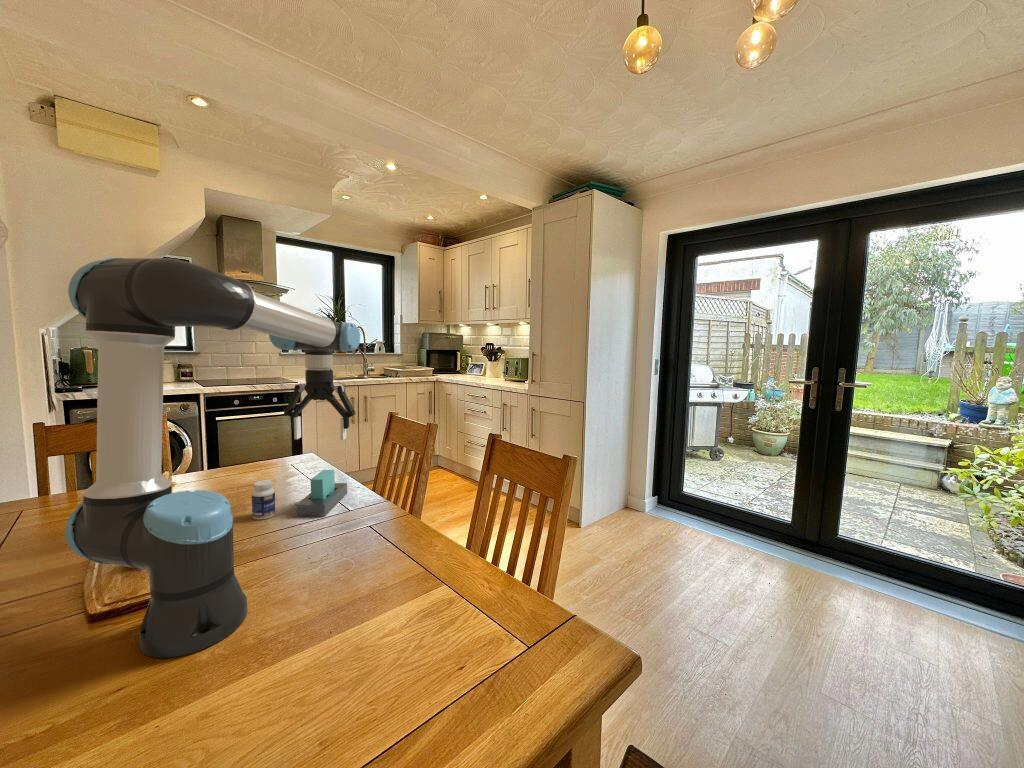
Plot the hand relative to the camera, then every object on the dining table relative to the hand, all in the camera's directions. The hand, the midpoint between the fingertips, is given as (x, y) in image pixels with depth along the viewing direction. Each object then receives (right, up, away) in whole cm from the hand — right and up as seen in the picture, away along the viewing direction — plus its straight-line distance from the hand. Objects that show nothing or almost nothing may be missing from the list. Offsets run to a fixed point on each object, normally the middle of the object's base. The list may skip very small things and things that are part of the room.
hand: (320, 438), depth 123 cm
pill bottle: (-13, -22, -6) cm, 26 cm away
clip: (0, -20, +3) cm, 20 cm away
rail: (0, -21, +3) cm, 21 cm away
